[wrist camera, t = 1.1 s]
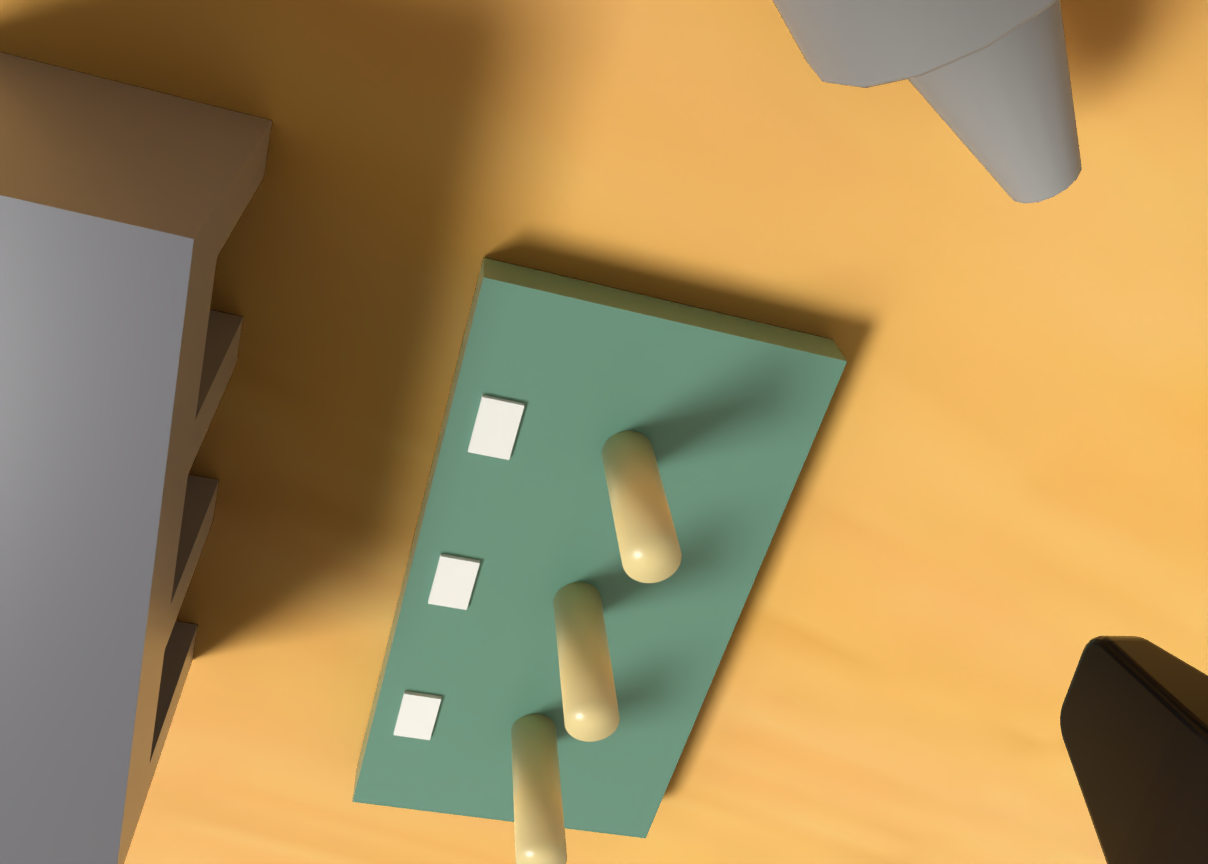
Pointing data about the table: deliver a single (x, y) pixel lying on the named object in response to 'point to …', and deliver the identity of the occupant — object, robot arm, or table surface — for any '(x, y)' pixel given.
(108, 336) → the block
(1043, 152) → the squeeze bottle
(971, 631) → the table surface
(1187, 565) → the table surface
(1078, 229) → the table surface
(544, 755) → the strip
